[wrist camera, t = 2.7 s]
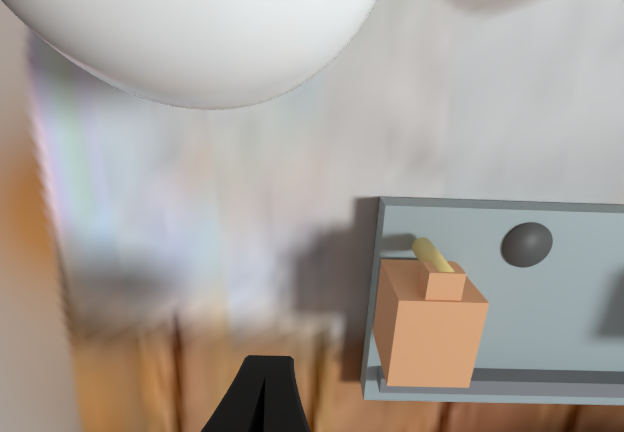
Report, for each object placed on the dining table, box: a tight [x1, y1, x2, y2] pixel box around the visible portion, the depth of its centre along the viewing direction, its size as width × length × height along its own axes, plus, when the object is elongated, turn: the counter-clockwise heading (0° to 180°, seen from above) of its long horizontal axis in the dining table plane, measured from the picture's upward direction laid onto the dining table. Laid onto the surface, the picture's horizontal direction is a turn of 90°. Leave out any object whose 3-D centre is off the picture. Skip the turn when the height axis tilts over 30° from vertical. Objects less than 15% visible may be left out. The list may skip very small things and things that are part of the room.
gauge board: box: [360, 197, 624, 405], centre depth 15 cm, size 16×10×4 cm, turn 88°
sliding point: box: [373, 237, 489, 388], centre depth 14 cm, size 3×5×3 cm, turn 178°
